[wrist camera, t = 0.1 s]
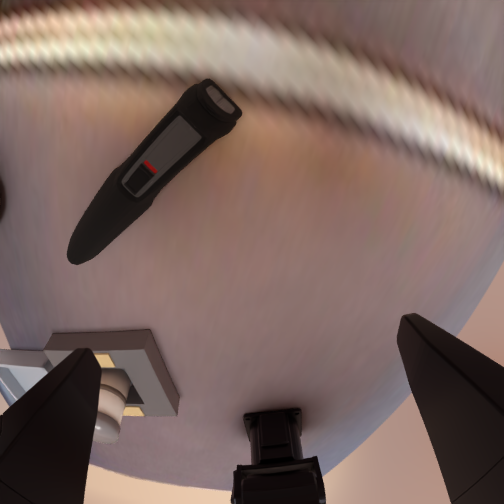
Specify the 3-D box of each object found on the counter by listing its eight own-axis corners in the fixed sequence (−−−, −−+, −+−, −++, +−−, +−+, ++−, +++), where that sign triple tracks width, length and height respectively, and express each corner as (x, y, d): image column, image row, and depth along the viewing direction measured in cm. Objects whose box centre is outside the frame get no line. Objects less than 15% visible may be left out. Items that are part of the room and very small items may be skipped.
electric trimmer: (68, 227, 23) (49, 246, 20) (207, 74, 18) (200, 71, 15) (101, 258, 24) (86, 280, 21) (246, 115, 19) (247, 119, 17)
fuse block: (179, 397, 31) (177, 417, 29) (92, 396, 32) (86, 414, 29) (149, 329, 27) (143, 351, 24) (52, 333, 27) (42, 351, 25)
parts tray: (101, 421, 34) (97, 436, 32) (45, 414, 34) (40, 427, 32) (52, 351, 28) (44, 367, 26) (-4, 348, 28) (-13, 362, 26)
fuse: (140, 381, 30) (125, 445, 23) (107, 380, 30) (88, 441, 23) (126, 354, 28) (105, 422, 21) (91, 355, 28) (67, 418, 21)
